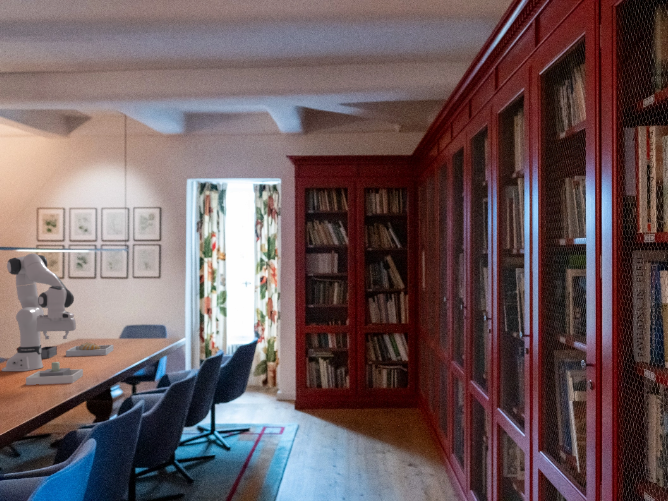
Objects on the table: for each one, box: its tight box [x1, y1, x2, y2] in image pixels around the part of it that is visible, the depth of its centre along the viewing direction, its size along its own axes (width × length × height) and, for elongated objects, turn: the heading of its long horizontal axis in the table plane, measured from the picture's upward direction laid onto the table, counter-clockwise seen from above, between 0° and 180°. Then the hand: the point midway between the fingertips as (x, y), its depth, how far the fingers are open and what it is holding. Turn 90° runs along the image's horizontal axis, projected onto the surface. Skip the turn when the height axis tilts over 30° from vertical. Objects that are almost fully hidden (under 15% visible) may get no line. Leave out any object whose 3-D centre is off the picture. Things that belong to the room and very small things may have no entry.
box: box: [25, 367, 84, 386], centre depth 299 cm, size 24×18×6 cm
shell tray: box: [65, 344, 114, 357], centre depth 386 cm, size 27×21×4 cm
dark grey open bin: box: [41, 345, 58, 360], centre depth 374 cm, size 8×16×6 cm, turn 9°
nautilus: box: [79, 341, 100, 350], centre depth 386 cm, size 8×21×15 cm
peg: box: [51, 361, 61, 372], centre depth 299 cm, size 4×4×9 cm
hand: (56, 339), depth 300 cm, fingers open, 8 cm apart
